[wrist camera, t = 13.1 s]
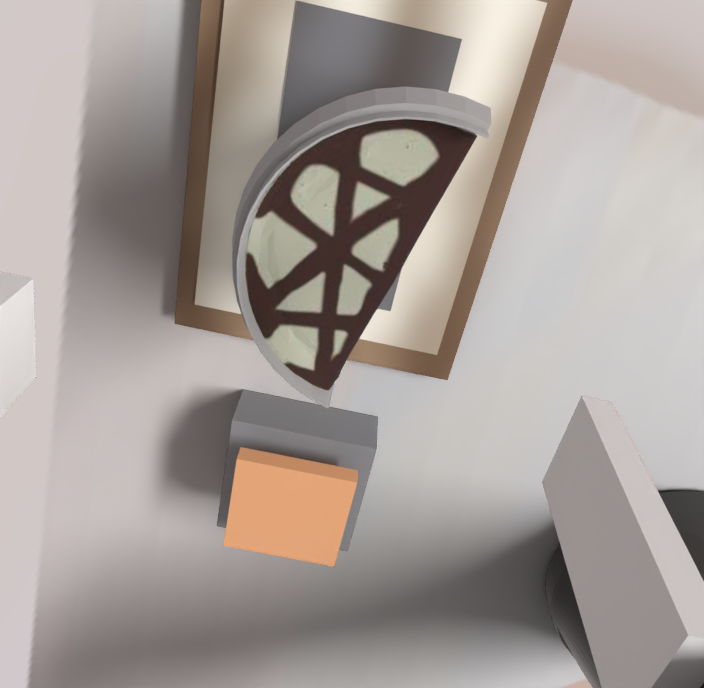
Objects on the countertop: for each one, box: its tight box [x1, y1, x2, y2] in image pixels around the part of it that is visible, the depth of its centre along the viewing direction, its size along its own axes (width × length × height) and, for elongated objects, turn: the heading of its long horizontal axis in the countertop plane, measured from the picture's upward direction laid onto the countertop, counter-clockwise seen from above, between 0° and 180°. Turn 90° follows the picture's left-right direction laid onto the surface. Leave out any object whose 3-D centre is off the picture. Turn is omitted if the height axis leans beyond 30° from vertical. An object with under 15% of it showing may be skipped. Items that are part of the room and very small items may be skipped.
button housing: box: [217, 390, 378, 551], centre depth 39 cm, size 8×8×3 cm
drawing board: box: [175, 0, 572, 380], centre depth 31 cm, size 15×20×1 cm
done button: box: [223, 447, 358, 567], centre depth 38 cm, size 6×6×4 cm
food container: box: [232, 87, 491, 408], centre depth 26 cm, size 12×6×10 cm, turn 153°
